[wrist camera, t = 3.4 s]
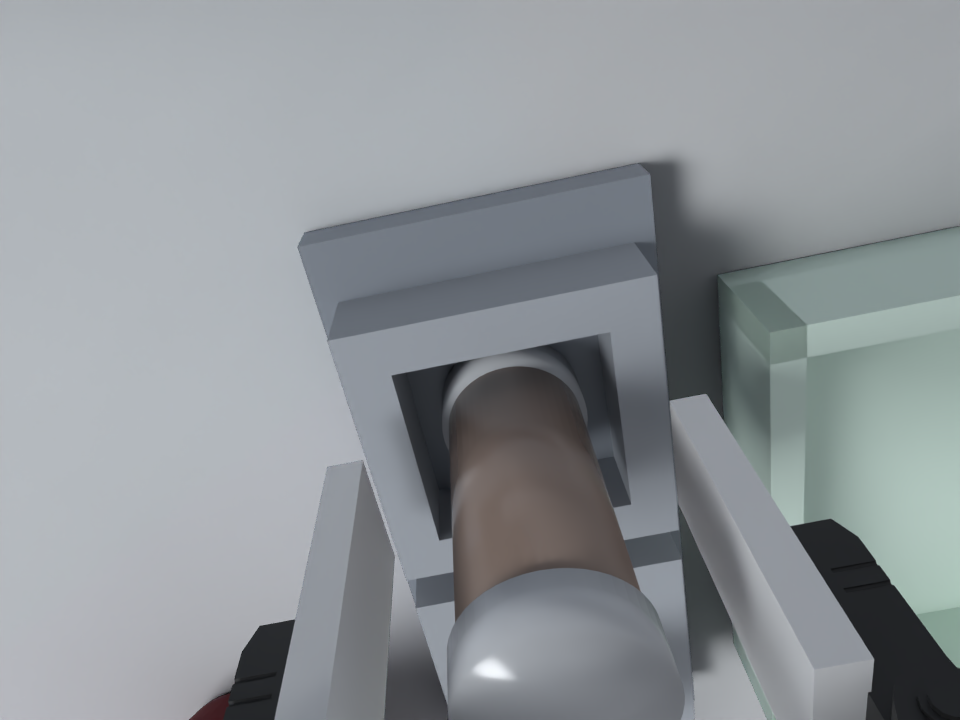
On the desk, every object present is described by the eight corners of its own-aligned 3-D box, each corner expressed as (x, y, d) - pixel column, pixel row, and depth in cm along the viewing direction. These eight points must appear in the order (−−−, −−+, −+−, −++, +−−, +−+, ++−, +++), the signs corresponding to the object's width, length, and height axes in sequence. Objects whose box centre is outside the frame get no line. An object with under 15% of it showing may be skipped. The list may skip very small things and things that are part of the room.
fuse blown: (427, 352, 18) (423, 656, 10) (569, 324, 18) (676, 610, 10) (457, 466, 20) (473, 803, 12) (587, 441, 20) (691, 766, 12)
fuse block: (304, 232, 18) (281, 280, 15) (638, 163, 17) (676, 199, 15) (459, 715, 26) (462, 799, 23) (685, 674, 26) (714, 756, 23)
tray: (717, 274, 19) (770, 332, 16) (1146, 188, 18) (1282, 231, 15) (733, 642, 25) (772, 731, 22) (1050, 585, 25) (1133, 669, 22)
